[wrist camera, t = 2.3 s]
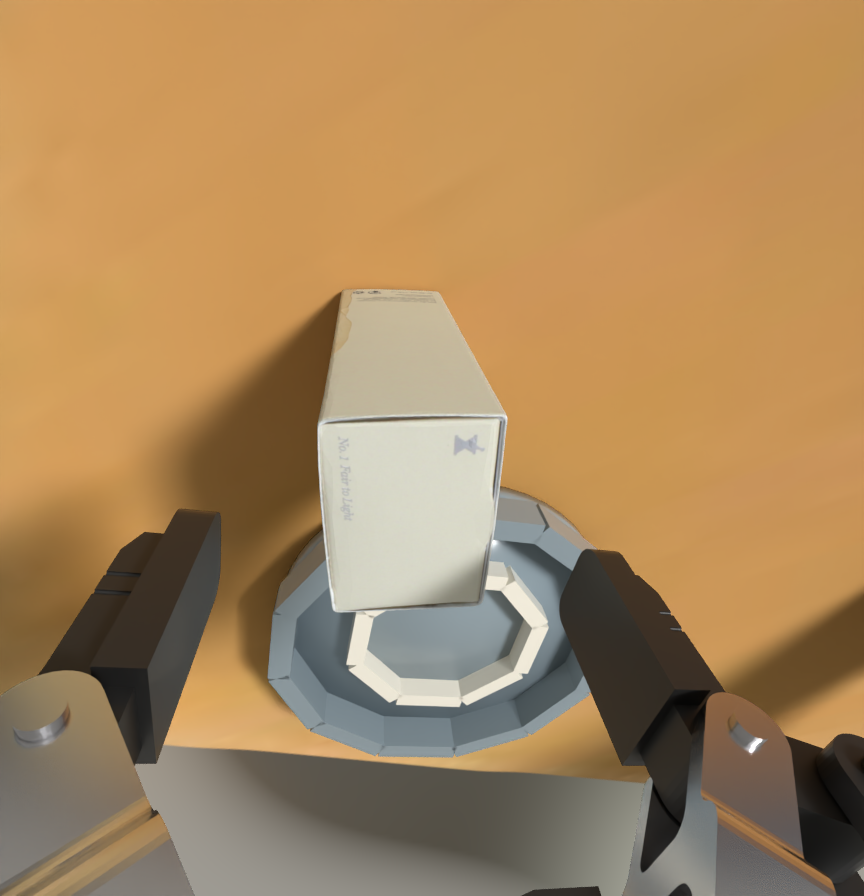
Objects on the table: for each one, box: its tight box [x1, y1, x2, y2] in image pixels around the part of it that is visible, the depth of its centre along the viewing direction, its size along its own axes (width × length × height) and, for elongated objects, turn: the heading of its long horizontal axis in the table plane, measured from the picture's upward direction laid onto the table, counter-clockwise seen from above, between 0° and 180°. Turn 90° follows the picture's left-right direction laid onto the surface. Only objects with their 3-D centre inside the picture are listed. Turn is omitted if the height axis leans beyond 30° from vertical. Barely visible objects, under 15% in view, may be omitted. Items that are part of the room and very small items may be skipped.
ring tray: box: [268, 486, 597, 757], centre depth 30 cm, size 20×20×3 cm
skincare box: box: [317, 289, 507, 613], centre depth 17 cm, size 6×4×12 cm
